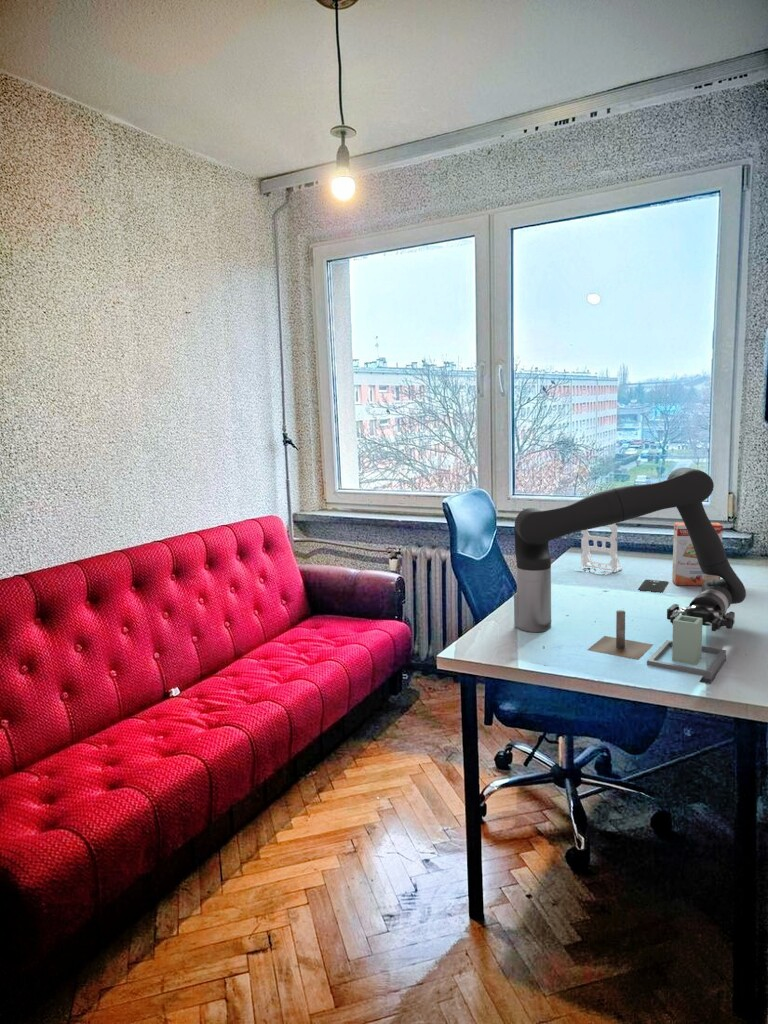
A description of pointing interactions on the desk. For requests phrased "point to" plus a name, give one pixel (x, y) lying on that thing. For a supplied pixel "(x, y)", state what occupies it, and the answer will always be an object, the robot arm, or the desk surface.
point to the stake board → (627, 652)
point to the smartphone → (653, 586)
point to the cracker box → (688, 558)
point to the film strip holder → (611, 550)
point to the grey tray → (707, 674)
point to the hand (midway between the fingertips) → (693, 624)
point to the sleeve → (687, 639)
